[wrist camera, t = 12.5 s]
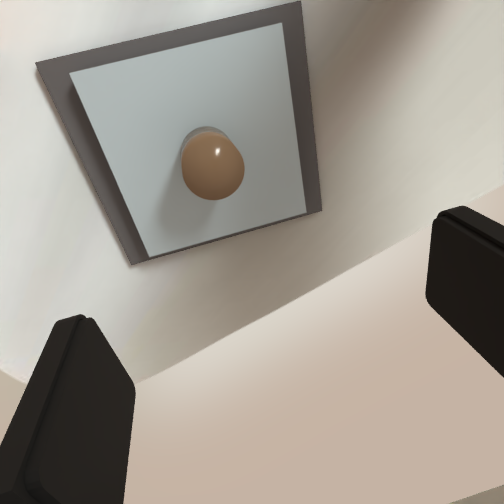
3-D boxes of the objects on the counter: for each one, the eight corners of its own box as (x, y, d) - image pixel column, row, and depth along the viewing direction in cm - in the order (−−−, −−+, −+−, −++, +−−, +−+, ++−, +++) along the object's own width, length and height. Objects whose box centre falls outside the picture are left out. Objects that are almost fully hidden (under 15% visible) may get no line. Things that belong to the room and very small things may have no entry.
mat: (298, 1, 23) (300, 0, 23) (319, 208, 32) (322, 210, 31) (37, 62, 22) (34, 62, 21) (132, 261, 30) (131, 264, 30)
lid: (276, 24, 23) (304, 14, 18) (301, 206, 30) (326, 234, 26) (74, 72, 22) (46, 75, 17) (150, 249, 29) (146, 287, 24)
